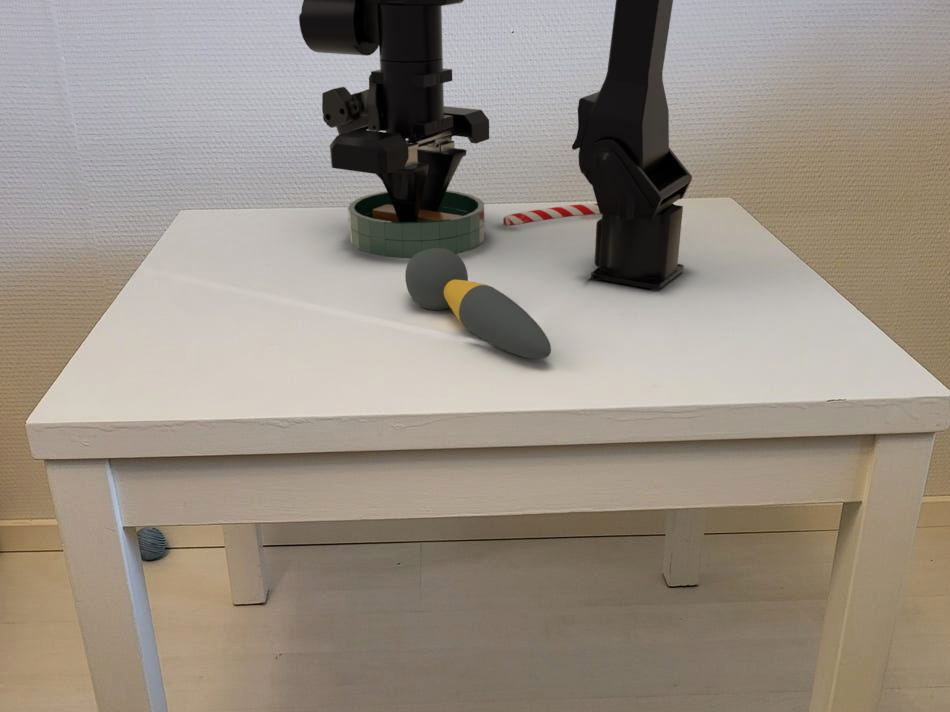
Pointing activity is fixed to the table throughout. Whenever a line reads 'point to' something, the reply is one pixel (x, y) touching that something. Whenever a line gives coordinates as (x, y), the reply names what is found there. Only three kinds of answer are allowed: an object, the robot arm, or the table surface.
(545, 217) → the candy cane
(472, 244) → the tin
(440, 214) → the block
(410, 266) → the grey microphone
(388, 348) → the table surface
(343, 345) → the table surface
